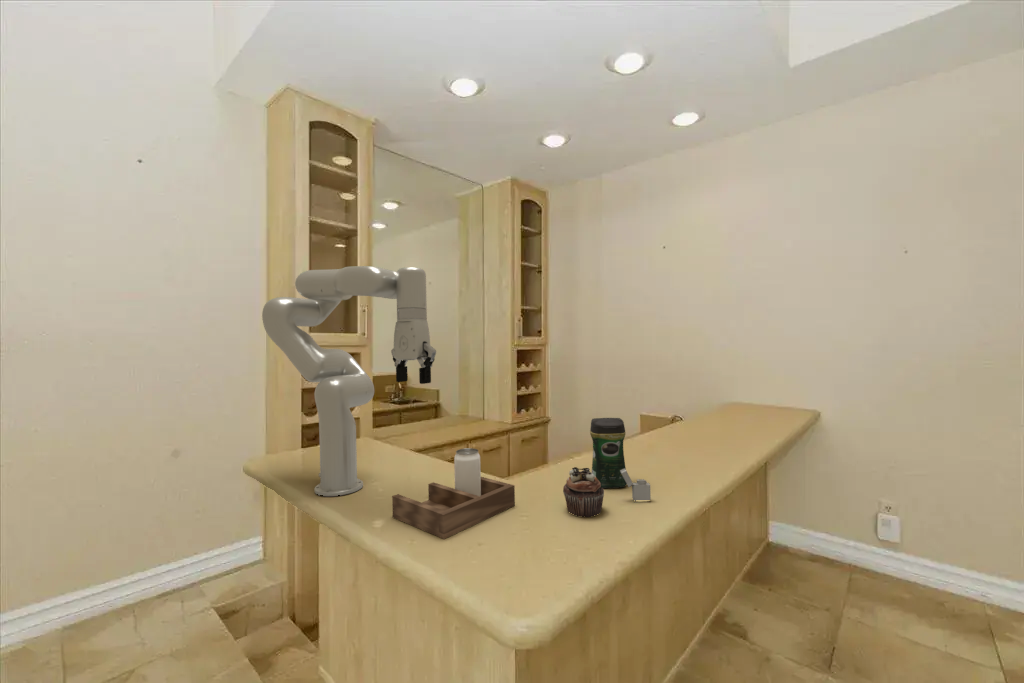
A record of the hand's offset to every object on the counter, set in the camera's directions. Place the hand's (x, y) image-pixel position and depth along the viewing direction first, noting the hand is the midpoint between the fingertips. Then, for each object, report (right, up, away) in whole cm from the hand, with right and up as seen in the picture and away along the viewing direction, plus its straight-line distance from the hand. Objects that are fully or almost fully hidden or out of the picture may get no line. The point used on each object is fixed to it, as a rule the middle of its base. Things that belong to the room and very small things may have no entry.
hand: (413, 382), depth 112 cm
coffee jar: (+52, -30, +9) cm, 61 cm away
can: (+14, -29, -3) cm, 33 cm away
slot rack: (+12, -30, -8) cm, 33 cm away
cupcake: (+43, -30, -9) cm, 53 cm away
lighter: (+56, -29, -4) cm, 64 cm away
